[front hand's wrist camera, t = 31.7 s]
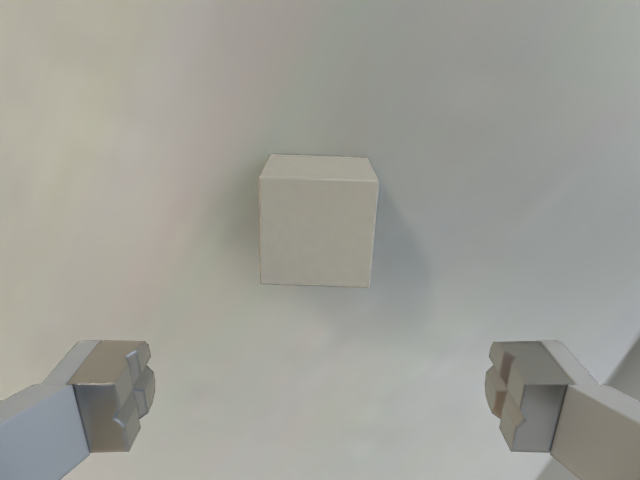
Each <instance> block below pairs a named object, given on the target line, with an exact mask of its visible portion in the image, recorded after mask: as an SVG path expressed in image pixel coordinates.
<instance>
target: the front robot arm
mask: <svg viewBox="0 0 640 480" xmlns="http://www.w3.org/2000/svg"><path fill="white" fill-rule="evenodd" d="M150 358H151V354H150V349H149V345H148V344H147V343H146V342H145V341H110V340H104V341H102V340H83V341H79V342H77V343H76V344H75V345H74V347H73V348H72V349H71V350H70V351H69V352H68V353H67V355H66V356H65V357H64V358H63V359H62V360H61V362H60V363H59V364H58V365H57V366H56V367H55V368H54V370H53V371H52V372H51V373H50V374H49V375H48V377H47V378H46V379H45V380H44V381H43V382H42V383H41V385H32V386H30V387H28V388H26V389H24V390H22V391H20V392H18V393H16V394H14V395H12V396H10V397H8V398H6V399H4V400H2V401H0V480H60V479H61V478H63V477H64V476H65V475H66V474H67V473H69V472H70V471H71V470H72V469H73V468H75V467H76V466H77V465H78V464H79V463H80V462H82V461H83V460H84V459H85V458H86V457H88V456H89V455H90V453H93V452H128V451H130V449H131V447H132V445H133V443H134V441H135V439H136V437H137V434H138V432H139V430H140V428H141V427H140V421H139V419H140V418H142V417H143V416H145V415H146V414H147V413H148V412H149V410H150V408H151V405H152V403H153V398H154V393H155V377H154V372H153V371H152V370H151V369H150V368H149V367H148V366H147V363H148V361H149V359H150ZM489 358H490V359H491V361H492V363H493V366H492V367H491V368H490V369H489V370H488V371H487V372H486V378H485V394H486V399H487V402H488V405H489V408H490V410H491V412H492V413H493V414H494V415H495V416H497V417H498V418H500V419H501V421H500V427H499V428H500V430H501V432H502V434H503V436H504V439H505V441H506V443H507V445H508V447H509V449H510V451H511V452H547V453H550V455H551V456H553V457H554V458H555V459H556V460H557V461H559V462H560V463H561V464H562V465H563V466H565V467H566V468H567V469H568V470H569V471H570V472H572V473H573V474H574V475H575V476H576V477H577V478H579V479H580V480H640V401H638V400H636V399H634V398H632V397H630V396H628V395H626V394H624V393H622V392H620V391H618V390H616V389H614V388H612V387H610V386H608V385H599V383H598V382H597V381H596V380H595V379H594V378H593V377H592V375H591V374H590V373H589V372H588V371H587V370H586V368H585V367H584V366H583V365H582V364H581V363H580V362H579V360H578V359H577V358H576V357H575V356H574V355H573V354H572V352H571V351H570V350H569V349H568V348H567V347H566V345H565V344H564V343H563V342H561V341H559V340H542V341H513V342H493V344H492V346H491V348H490V353H489Z"/></svg>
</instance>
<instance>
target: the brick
mask: <svg viewBox="0 0 640 480" xmlns="http://www.w3.org/2000/svg"><path fill="white" fill-rule="evenodd" d="M378 192H379V180H378V178H377V176H376V174H375V172H374V170H373V168H372V166H371V164H370V162H369V159H368V158H366V157H340V156H313V155H287V154H271V155H270V156H269V158H268V160H267V162H266V164H265V166H264V168H263V170H262V172H261V174H260V176H259V243H260V283H261V284H273V285H303V286H333V287H363V288H368V287H370V281H371V270H372V259H373V247H374V236H375V225H376V214H377V203H378Z"/></svg>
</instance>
